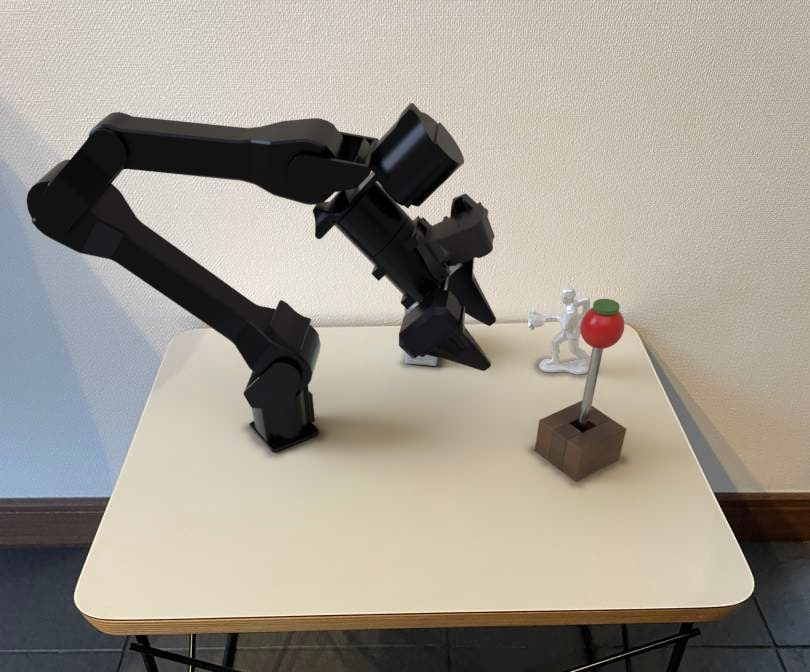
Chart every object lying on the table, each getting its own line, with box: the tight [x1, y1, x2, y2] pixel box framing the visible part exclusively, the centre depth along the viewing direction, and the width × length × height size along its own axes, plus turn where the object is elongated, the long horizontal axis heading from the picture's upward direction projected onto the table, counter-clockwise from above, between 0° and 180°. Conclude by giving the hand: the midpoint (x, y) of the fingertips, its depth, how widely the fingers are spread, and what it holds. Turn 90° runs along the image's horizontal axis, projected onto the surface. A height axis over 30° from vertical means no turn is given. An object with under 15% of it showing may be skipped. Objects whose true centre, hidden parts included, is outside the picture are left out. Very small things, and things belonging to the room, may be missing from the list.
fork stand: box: [534, 400, 627, 483], centre depth 89 cm, size 7×7×4 cm
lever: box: [577, 298, 625, 433], centre depth 83 cm, size 4×4×19 cm
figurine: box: [527, 285, 591, 376], centre depth 99 cm, size 5×9×12 cm, turn 96°
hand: (490, 344), depth 82 cm, fingers open, 9 cm apart
